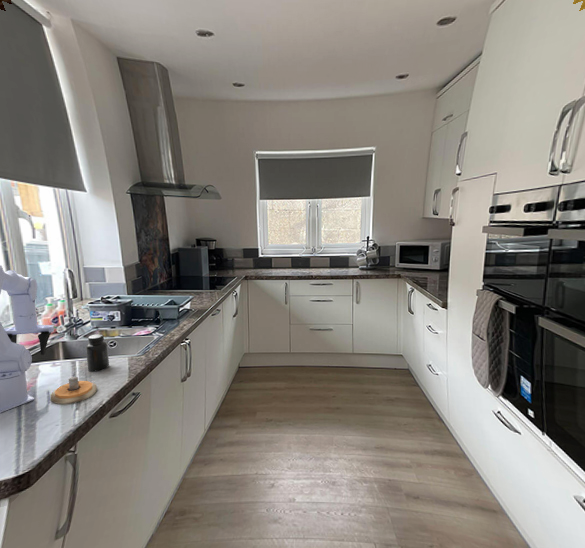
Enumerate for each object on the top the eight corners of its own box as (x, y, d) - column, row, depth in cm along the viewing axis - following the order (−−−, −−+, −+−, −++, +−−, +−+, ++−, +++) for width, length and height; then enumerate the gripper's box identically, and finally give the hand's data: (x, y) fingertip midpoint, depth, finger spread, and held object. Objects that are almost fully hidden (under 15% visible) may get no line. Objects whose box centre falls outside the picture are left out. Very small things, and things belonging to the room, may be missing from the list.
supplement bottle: (104, 362, 130) (102, 331, 128) (112, 367, 125) (110, 335, 124) (84, 368, 124) (81, 336, 123) (92, 373, 120) (89, 340, 118)
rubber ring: (66, 401, 100) (66, 399, 99) (48, 393, 104) (48, 390, 104) (98, 388, 108) (98, 385, 108) (81, 380, 112) (80, 378, 112)
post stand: (64, 408, 98) (63, 391, 97) (42, 397, 104) (41, 381, 103) (105, 390, 108) (104, 375, 108) (82, 381, 114) (81, 367, 113)
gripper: (55, 309, 116) (59, 348, 118) (2, 312, 111) (7, 352, 113) (48, 315, 110) (52, 355, 112) (-8, 318, 105) (-3, 361, 107)
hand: (29, 354), depth 112 cm, fingers open, 7 cm apart
